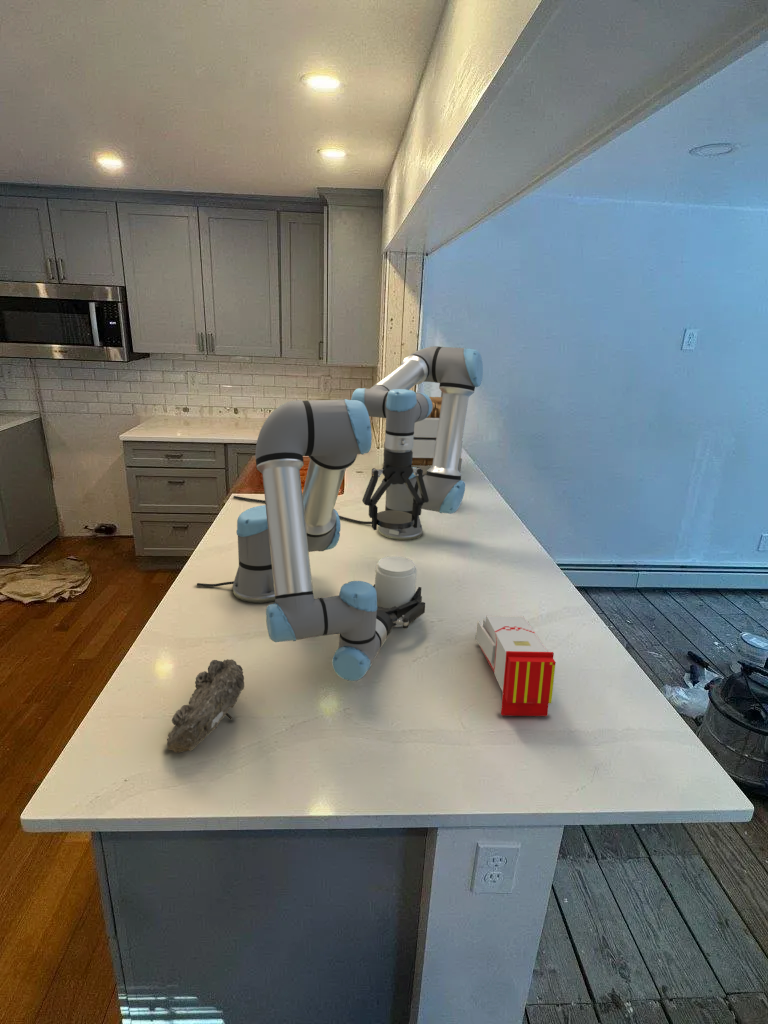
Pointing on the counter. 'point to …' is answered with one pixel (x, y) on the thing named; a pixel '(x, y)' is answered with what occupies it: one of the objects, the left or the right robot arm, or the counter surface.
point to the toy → (518, 664)
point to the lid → (395, 519)
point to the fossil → (206, 705)
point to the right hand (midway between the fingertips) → (394, 527)
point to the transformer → (427, 437)
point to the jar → (395, 581)
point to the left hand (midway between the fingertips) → (399, 587)
